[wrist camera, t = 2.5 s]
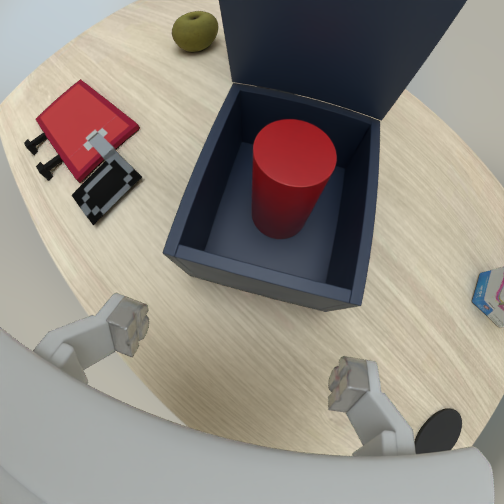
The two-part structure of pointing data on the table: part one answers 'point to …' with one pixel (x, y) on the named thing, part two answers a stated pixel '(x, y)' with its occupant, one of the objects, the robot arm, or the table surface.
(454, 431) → the coaster
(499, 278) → the ink box
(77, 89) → the red board with handle
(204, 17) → the apple
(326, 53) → the lid
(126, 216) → the table surface
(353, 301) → the dark blue open box
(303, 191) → the can
